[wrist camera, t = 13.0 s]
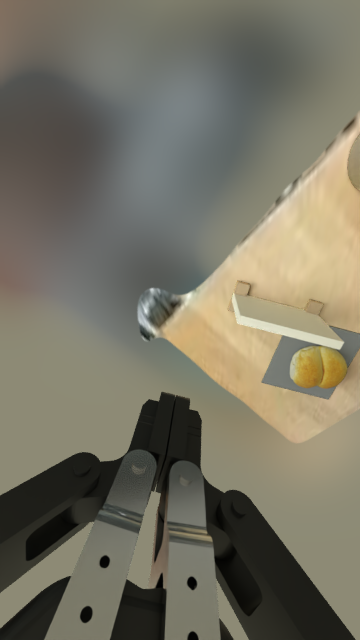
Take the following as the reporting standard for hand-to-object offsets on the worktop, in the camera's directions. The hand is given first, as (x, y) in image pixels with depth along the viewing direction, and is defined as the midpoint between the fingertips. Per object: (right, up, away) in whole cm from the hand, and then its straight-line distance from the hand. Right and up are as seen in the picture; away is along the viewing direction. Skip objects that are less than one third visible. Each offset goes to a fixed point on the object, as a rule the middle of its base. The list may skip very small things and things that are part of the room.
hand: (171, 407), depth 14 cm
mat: (+24, -3, +34) cm, 41 cm away
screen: (+16, +7, +30) cm, 35 cm away
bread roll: (+24, -3, +34) cm, 42 cm away
